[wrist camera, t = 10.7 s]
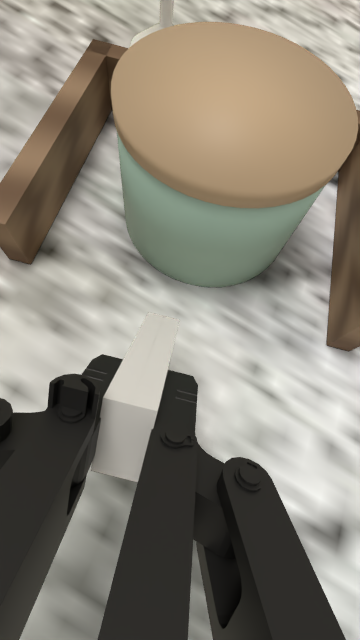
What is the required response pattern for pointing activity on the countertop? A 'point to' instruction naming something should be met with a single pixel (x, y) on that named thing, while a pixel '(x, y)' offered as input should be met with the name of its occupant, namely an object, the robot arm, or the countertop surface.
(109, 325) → the countertop surface
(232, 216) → the green canister
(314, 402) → the countertop surface
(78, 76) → the walnut bay
